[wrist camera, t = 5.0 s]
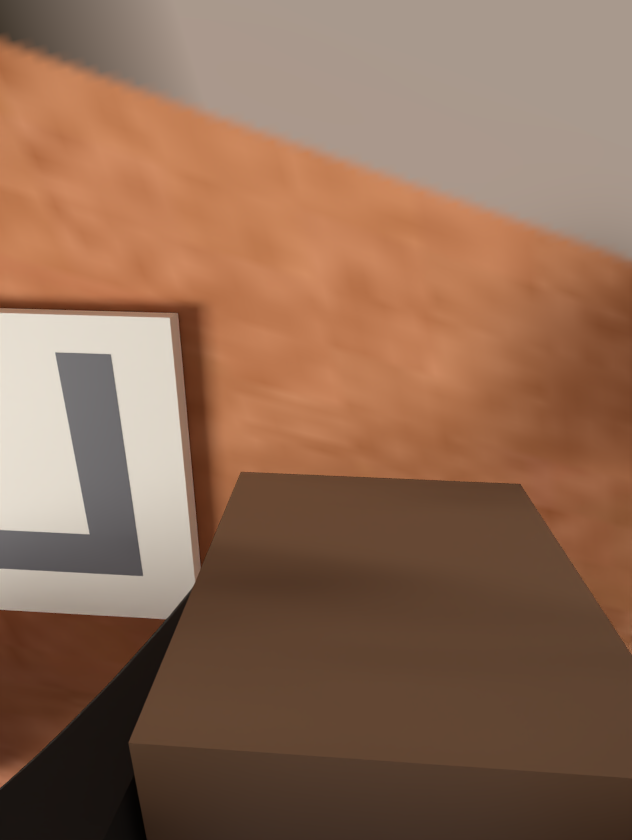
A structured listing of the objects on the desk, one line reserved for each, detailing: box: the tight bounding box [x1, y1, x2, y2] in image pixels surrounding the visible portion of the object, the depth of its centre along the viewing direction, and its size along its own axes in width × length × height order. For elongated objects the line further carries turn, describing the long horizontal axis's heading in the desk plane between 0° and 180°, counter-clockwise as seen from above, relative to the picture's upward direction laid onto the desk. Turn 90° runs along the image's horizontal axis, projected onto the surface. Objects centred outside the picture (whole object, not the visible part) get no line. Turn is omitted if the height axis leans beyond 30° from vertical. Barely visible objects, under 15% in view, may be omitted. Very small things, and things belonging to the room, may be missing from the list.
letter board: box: [0, 308, 201, 619], centre depth 18 cm, size 12×12×1 cm
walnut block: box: [129, 472, 632, 840], centre depth 7 cm, size 5×5×5 cm
